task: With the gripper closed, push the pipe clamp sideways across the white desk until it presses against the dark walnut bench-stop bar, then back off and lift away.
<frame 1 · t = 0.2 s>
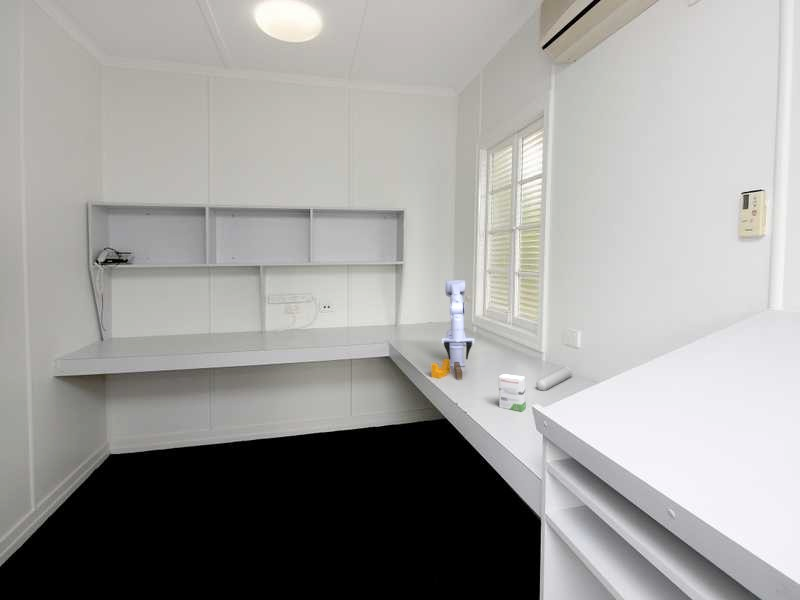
hand: (458, 358, 181), 10 cm above the table, fingers open, 7 cm apart
ink box: (512, 408, 148), on the table
tube: (553, 384, 173), on the table
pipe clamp: (442, 375, 192), on the table
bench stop: (458, 370, 191), point 2 cm above the table, slide at 0.0 cm
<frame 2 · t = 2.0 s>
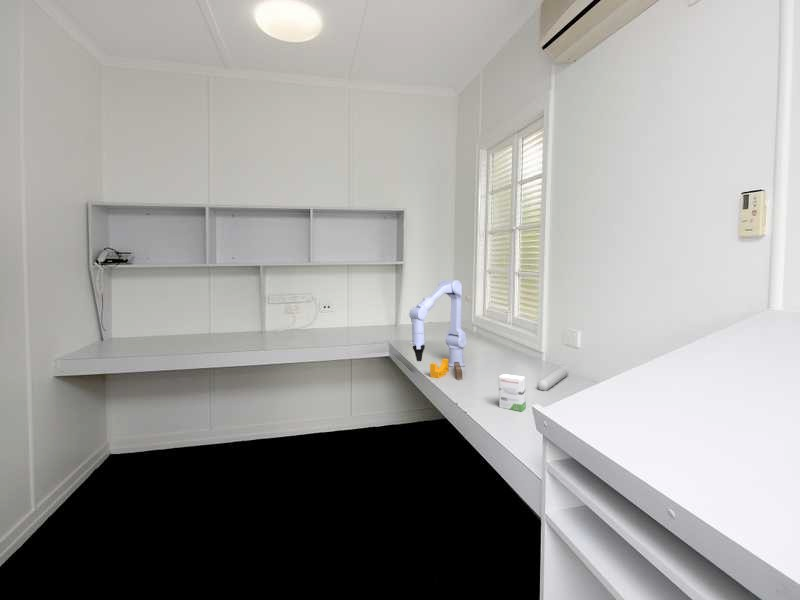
hand: (419, 360, 192), 7 cm above the table, fingers closed
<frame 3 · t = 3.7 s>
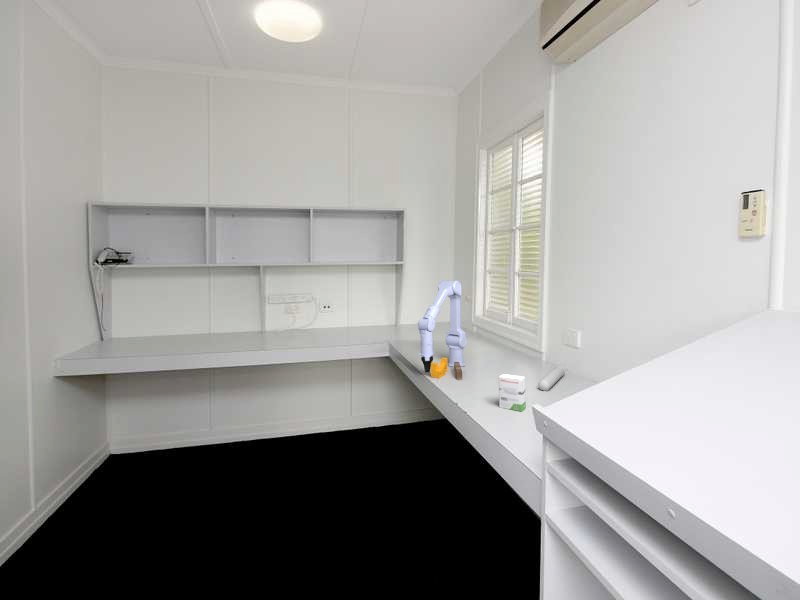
hand: (427, 372, 192), 1 cm above the table, fingers closed
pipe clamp: (440, 374, 193), on the table, touching gripper
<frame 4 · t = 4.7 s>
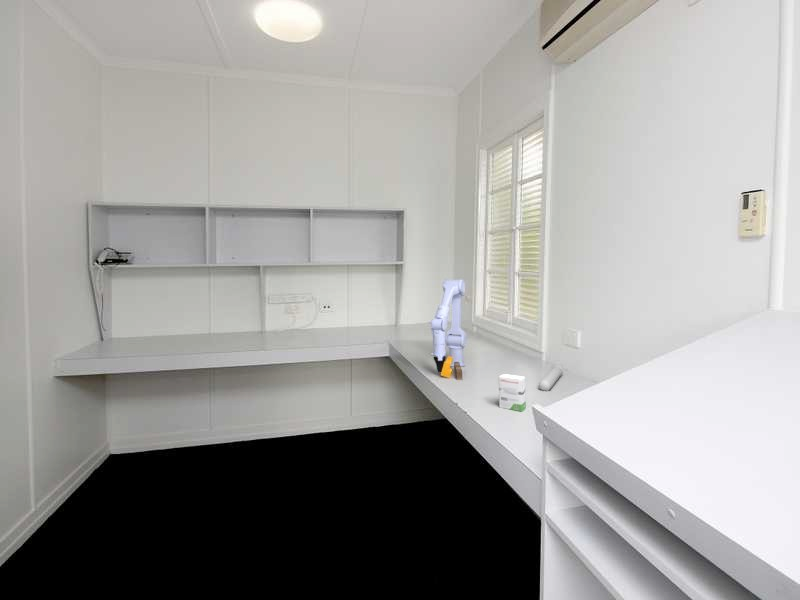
hand: (439, 371, 192), 1 cm above the table, fingers closed
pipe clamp: (446, 373, 192), on the table, touching gripper
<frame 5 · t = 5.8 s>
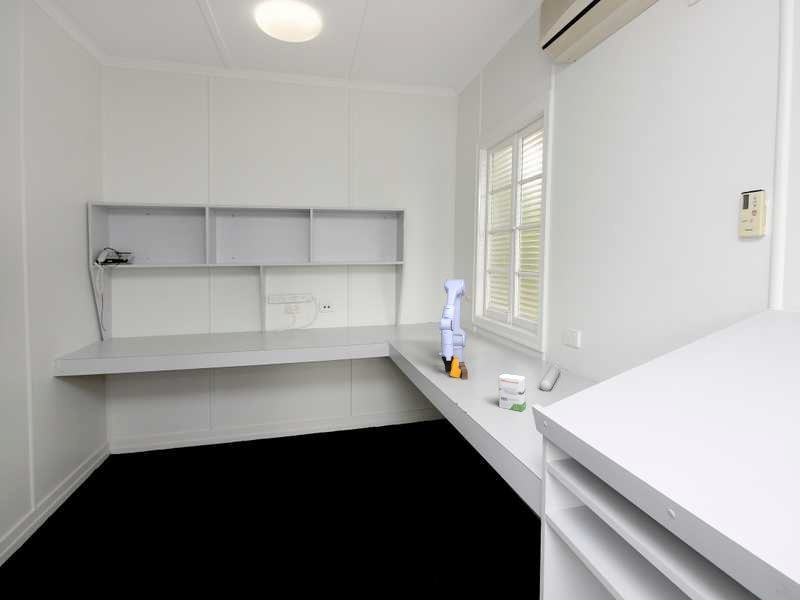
hand: (447, 371, 192), 1 cm above the table, fingers closed
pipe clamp: (454, 373, 192), on the table, touching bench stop, gripper
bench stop: (463, 370, 191), point 2 cm above the table, slide at 2.4 cm, touching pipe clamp
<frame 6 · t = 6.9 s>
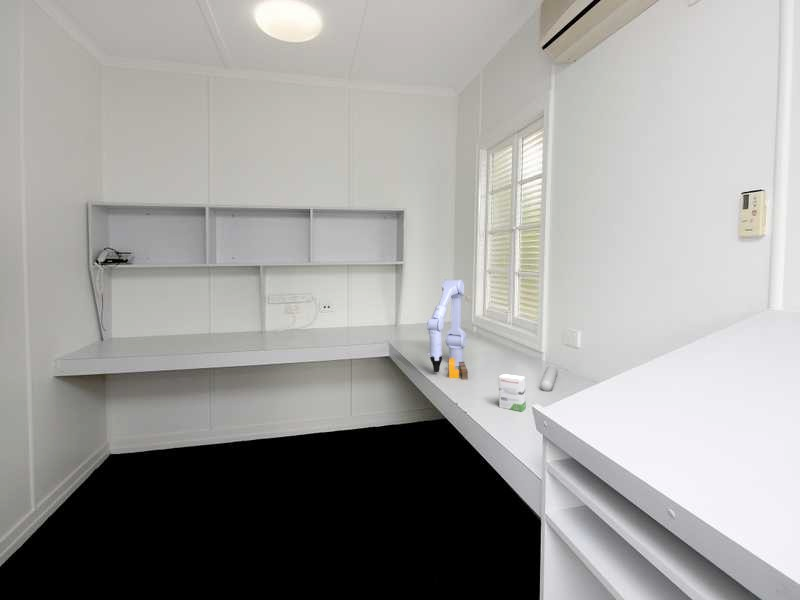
hand: (436, 372, 192), 1 cm above the table, fingers closed
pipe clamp: (454, 375, 192), on the table
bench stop: (463, 370, 191), point 2 cm above the table, slide at 2.4 cm
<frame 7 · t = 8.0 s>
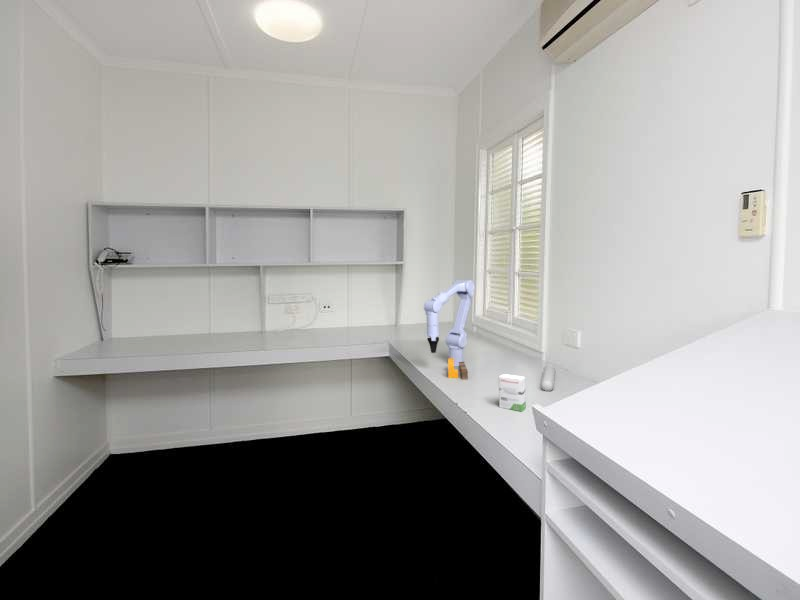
hand: (433, 352, 197), 9 cm above the table, fingers closed
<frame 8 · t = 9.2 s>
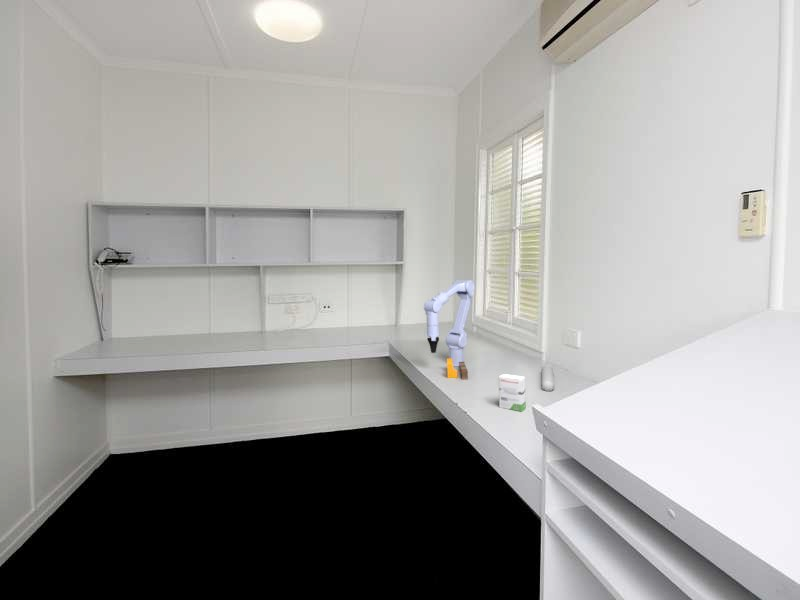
hand: (433, 352, 197), 9 cm above the table, fingers closed
at the end: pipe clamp inside the target area (1.8 cm from its centre), on the table; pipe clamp tilted 0°; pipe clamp moved 4.4 cm from its start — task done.
